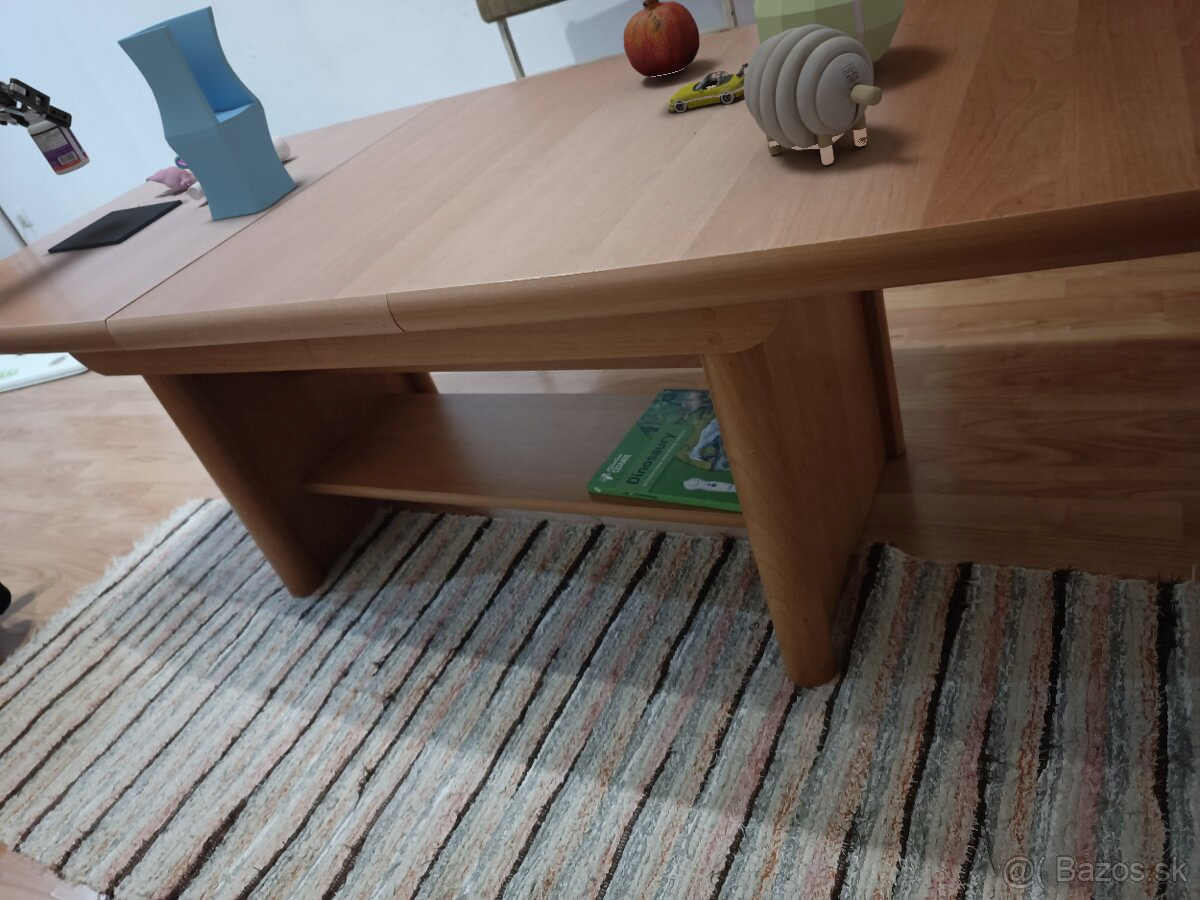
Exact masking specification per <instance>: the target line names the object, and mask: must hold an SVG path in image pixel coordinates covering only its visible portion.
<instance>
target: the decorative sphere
mask: <svg viewBox="0 0 1200 900" xmlns="http://www.w3.org/2000/svg"><path fill="white" fill-rule="evenodd" d="M905 7H906V6H905V0H754V3H753V13H754V18H755V23H756V29H757V35H758V41H759V44H760V45H761V44H762V43H763V42H765V41H766V40H767V39H769V38H771V37H773V36H775V35H778V34H780V33H782V32H784V31H786V30H788V29H791V28H797V27H802V26H806V25H811V24H818V25H823V26H826V27H829V28H831V29H836V30H839V31H842V32H844V33H845V34H847V35H848V36H849V37H851V38H853V39H855V40H857V41H858V42H860V43H861V44H862V45H863V46H864V48H865V49H866V50H867V52H868V54H869V56H870V59H871V61H872V65H873V64H875V63H876V62H877V61H879V60H880V59H881V58H882V56H884V54H885V53H886V52H887V51H888V50H889V48H890V46H891V43H892V41H893V38H894V36H895V34H896V32H897V29H898V27H899V24H900V21H901V19H902V18H903V15H904V12H905V10H906V8H905ZM760 45H759V46H760Z"/></svg>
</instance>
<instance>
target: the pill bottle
mask: <svg viewBox="0 0 1200 900" xmlns="http://www.w3.org/2000/svg"><path fill="white" fill-rule="evenodd" d="M28 108H29V109H32V108H30V107H28ZM33 110H34V109H33ZM23 117H24V118H25V119H26V121H29V123H30V125H29V126H28V128H26V130H27V133H28V134H29V136H30V138H31V139H32V141H33V142H34V144H35V145H36V146H37V148H38V149H39V151H40V152H41V154H42V155H43V157H44V158H45V160H46V162H47V163H48V164H49V166H50V167H51V169H52V170H53V172H54V173H55V174H56V175H57V176H63V175H67V174H70V173H72V172H75V171H77V170H79V169H81V168H83V167H85V166H87V165H88V164H89V163H90V162H91V159H90V157H89V156H88V154H87V152H86V151H85V150H84V147H82V144H81V143H80V142H79V140H78V139H77V137H76V135H75V134H74V132H73V131H72V129H71V127H70V128H63V127H61V126H59V125H56V124H54V123H52V122H49V121H47V120H45V119H43V118H39V117H36V116H33V115H29V114H26V115H25V116H23Z"/></svg>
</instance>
